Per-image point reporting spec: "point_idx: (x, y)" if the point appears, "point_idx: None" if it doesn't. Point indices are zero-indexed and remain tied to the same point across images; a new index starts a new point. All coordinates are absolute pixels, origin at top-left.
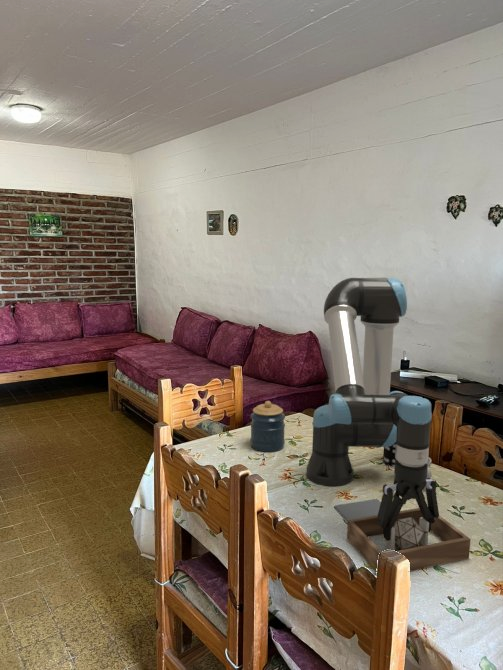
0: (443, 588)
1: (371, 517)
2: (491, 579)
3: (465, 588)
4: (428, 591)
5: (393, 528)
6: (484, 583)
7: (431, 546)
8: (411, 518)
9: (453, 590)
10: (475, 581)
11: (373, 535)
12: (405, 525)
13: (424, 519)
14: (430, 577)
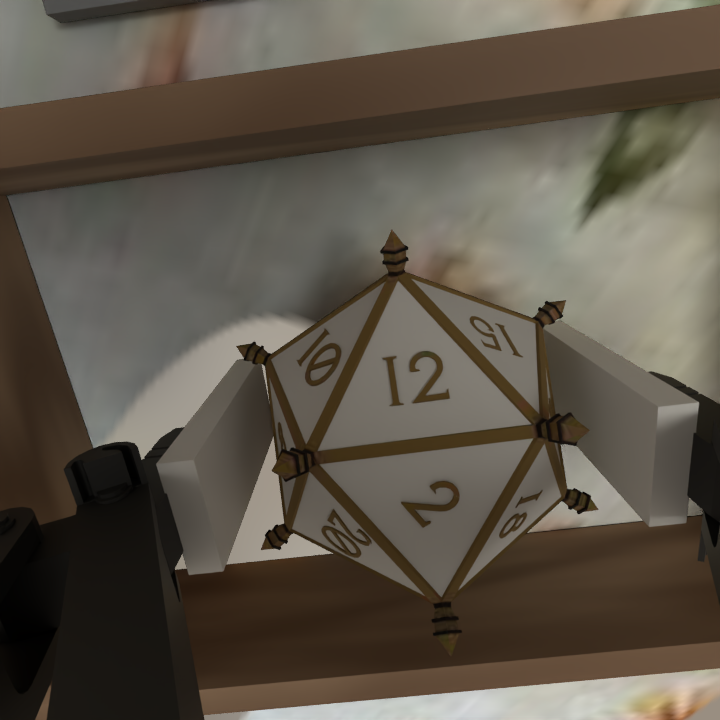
0: (410, 700)
1: (95, 127)
2: (697, 685)
3: (517, 713)
4: (324, 705)
5: (207, 561)
6: (637, 701)
7: (481, 683)
8: (517, 461)
9: (449, 716)
10: (605, 685)
11: (207, 167)
12: (368, 544)
13: (686, 451)
14: None
